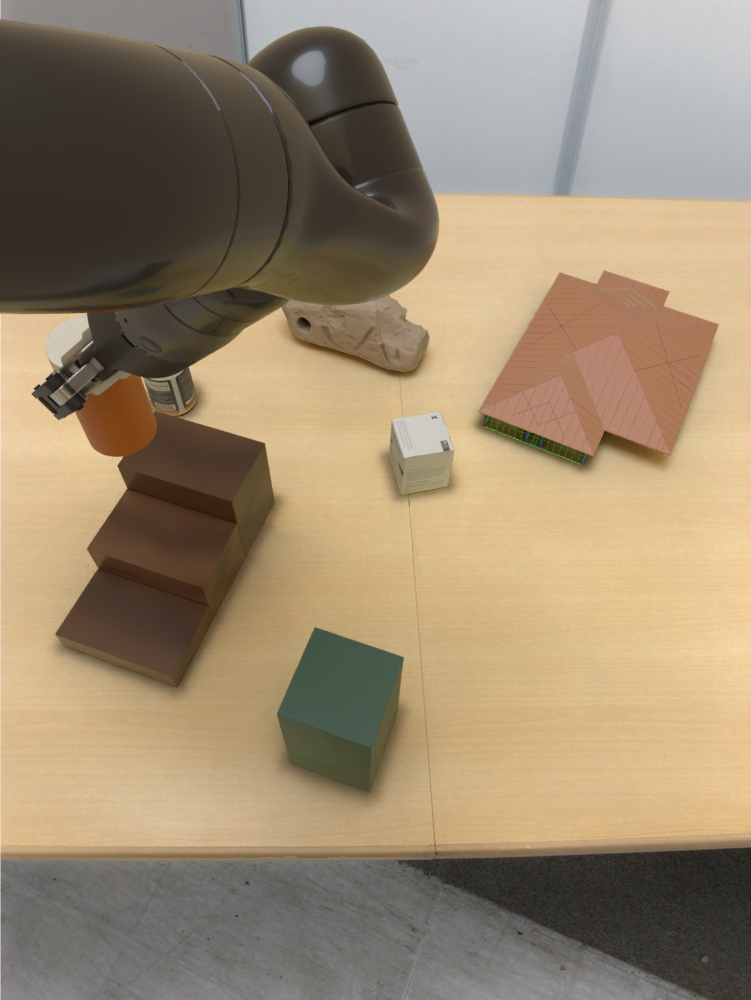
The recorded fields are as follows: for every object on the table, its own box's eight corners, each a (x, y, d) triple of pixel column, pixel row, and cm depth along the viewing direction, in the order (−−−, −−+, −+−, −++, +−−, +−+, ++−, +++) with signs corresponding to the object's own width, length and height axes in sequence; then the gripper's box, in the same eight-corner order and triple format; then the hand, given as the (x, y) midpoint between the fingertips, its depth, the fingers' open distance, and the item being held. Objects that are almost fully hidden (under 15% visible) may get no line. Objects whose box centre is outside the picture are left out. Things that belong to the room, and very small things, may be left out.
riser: (177, 687, 74) (151, 642, 65) (64, 646, 76) (24, 597, 67) (275, 502, 87) (265, 442, 78) (176, 471, 89) (155, 410, 80)
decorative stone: (276, 340, 102) (269, 281, 94) (301, 307, 106) (296, 248, 98) (411, 385, 98) (416, 328, 90) (432, 348, 102) (438, 290, 94)
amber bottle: (135, 466, 60) (99, 378, 51) (73, 446, 61) (28, 357, 52) (170, 415, 63) (142, 324, 55) (110, 397, 64) (73, 306, 56)
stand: (369, 793, 69) (371, 748, 57) (290, 763, 70) (276, 714, 58) (397, 713, 73) (404, 656, 61) (321, 686, 74) (314, 626, 63)
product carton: (388, 457, 91) (390, 417, 85) (435, 449, 92) (440, 409, 86) (400, 496, 88) (403, 458, 82) (449, 487, 89) (456, 449, 83)
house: (714, 330, 105) (738, 283, 98) (651, 498, 88) (675, 456, 82) (560, 279, 111) (573, 232, 104) (474, 428, 94) (483, 383, 87)
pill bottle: (182, 379, 98) (166, 321, 90) (205, 404, 96) (191, 347, 87) (144, 399, 96) (124, 342, 88) (167, 425, 93) (149, 369, 85)
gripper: (204, 185, 46) (109, 277, 59) (37, 321, 39) (-29, 392, 52) (282, 282, 49) (176, 350, 62) (141, 425, 42) (54, 468, 55)
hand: (83, 369), depth 57 cm, fingers closed on amber bottle, 5 cm apart
